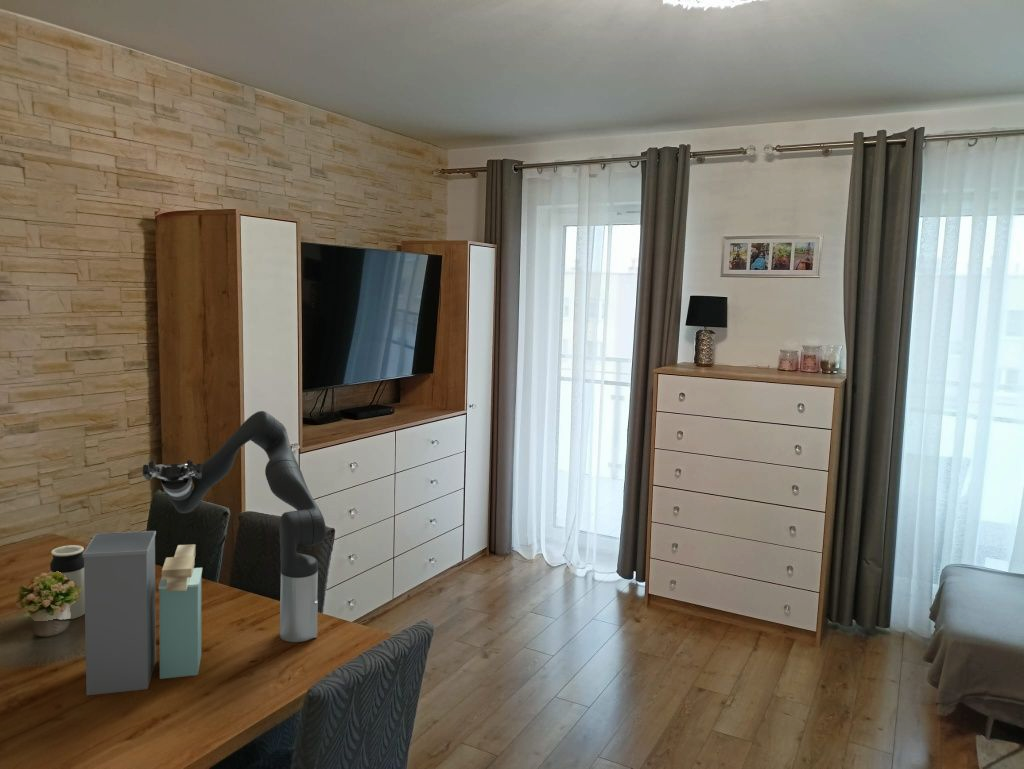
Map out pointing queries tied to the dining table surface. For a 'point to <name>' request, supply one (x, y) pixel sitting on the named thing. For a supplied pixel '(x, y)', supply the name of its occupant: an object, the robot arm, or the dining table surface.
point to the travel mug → (71, 572)
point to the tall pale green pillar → (180, 628)
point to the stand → (120, 611)
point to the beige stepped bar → (179, 568)
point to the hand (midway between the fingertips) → (170, 463)
